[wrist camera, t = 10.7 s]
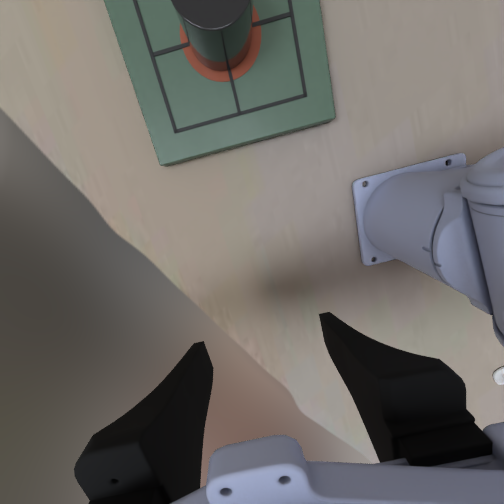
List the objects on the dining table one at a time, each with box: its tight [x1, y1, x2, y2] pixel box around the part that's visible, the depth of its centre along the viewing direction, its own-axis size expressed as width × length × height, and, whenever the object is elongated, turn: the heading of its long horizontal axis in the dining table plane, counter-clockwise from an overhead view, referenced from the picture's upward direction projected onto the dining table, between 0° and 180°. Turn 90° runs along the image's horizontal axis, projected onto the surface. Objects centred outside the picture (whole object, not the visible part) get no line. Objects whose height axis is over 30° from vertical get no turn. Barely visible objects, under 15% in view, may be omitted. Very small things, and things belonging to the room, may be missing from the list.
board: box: [104, 0, 336, 166], centre depth 18 cm, size 14×14×2 cm
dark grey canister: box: [171, 0, 253, 71], centre depth 14 cm, size 4×4×5 cm
